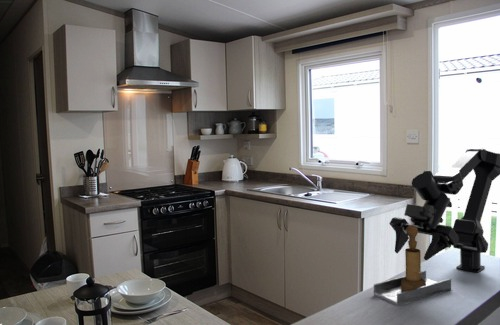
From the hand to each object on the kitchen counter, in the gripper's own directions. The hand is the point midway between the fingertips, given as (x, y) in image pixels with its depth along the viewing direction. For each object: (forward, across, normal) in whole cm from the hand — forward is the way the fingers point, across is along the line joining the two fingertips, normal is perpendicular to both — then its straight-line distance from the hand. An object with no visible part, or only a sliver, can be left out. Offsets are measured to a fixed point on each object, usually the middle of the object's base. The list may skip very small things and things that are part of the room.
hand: (410, 255), depth 118 cm
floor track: (+7, 0, +8) cm, 10 cm away
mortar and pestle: (+6, 0, +8) cm, 10 cm away
